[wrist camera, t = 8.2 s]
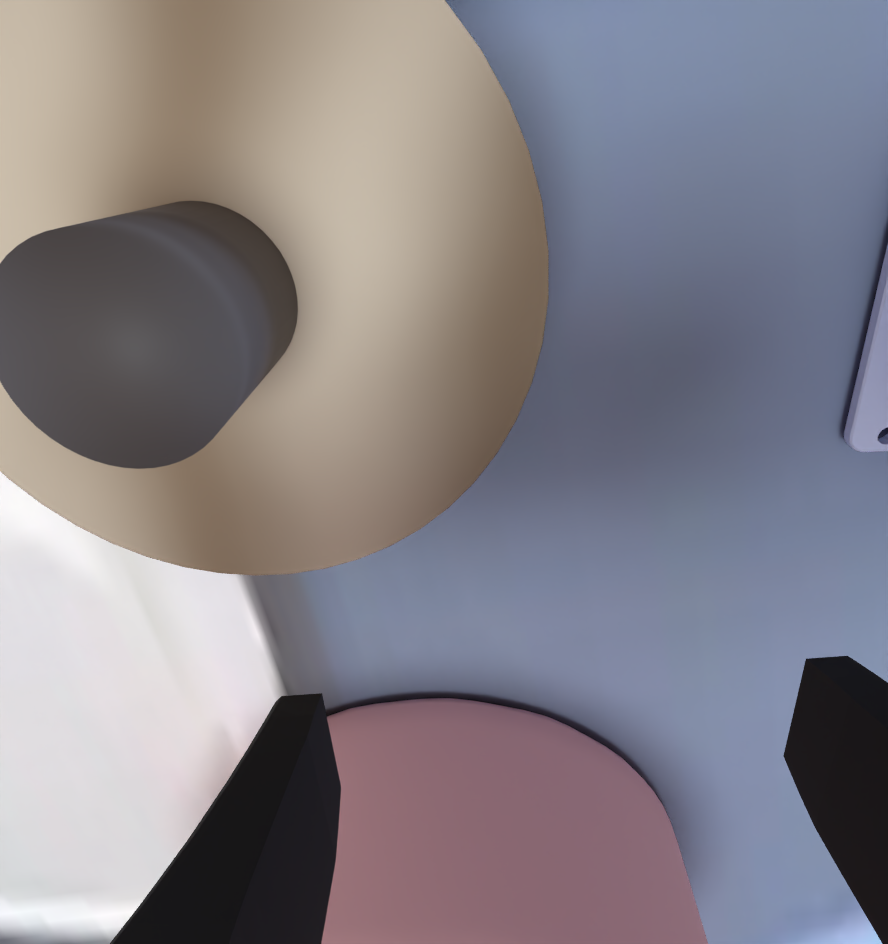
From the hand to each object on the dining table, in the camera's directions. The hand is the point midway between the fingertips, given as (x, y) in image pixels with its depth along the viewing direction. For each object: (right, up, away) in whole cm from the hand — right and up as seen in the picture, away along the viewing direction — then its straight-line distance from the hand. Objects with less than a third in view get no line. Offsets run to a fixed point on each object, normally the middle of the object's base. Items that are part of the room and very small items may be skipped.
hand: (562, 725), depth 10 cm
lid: (-6, +7, +3) cm, 10 cm away
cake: (-2, -13, +19) cm, 23 cm away
